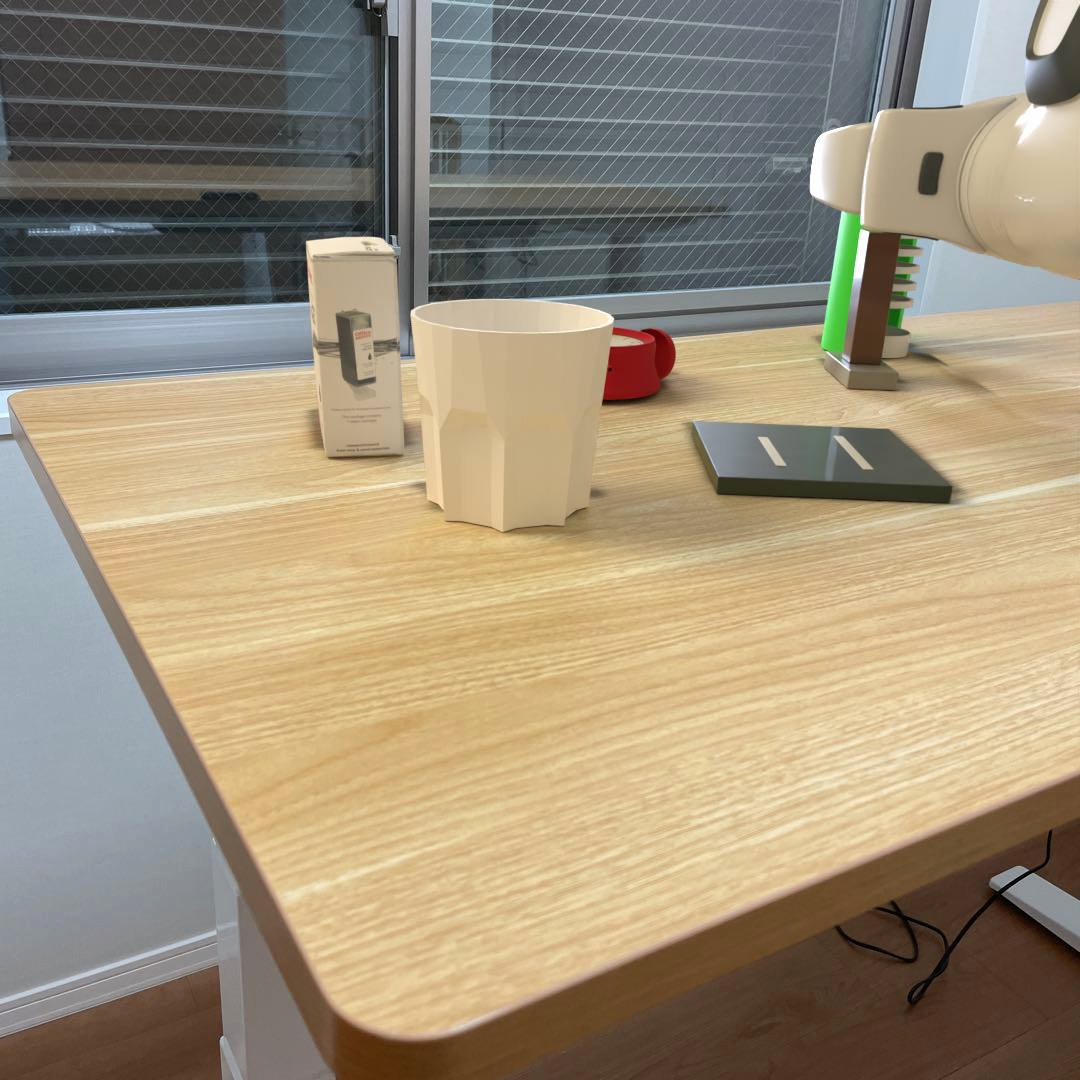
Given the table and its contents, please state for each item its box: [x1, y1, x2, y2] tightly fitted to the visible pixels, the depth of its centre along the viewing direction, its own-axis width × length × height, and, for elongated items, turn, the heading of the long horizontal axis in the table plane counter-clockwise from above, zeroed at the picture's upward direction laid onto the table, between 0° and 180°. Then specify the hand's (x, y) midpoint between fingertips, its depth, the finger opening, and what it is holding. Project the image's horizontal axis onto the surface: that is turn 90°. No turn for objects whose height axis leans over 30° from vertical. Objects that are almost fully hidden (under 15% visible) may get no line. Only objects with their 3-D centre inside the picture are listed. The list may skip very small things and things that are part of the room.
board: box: [690, 420, 954, 504], centre depth 63 cm, size 13×12×1 cm
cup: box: [410, 298, 615, 533], centre depth 53 cm, size 10×10×10 cm
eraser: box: [823, 229, 901, 391], centre depth 85 cm, size 8×4×12 cm, turn 179°
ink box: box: [305, 236, 405, 458], centre depth 63 cm, size 9×5×12 cm, turn 14°
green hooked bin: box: [820, 211, 925, 359], centre depth 96 cm, size 9×8×18 cm
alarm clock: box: [602, 326, 677, 401], centre depth 81 cm, size 10×6×15 cm
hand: (942, 171), depth 69 cm, fingers open, 8 cm apart
